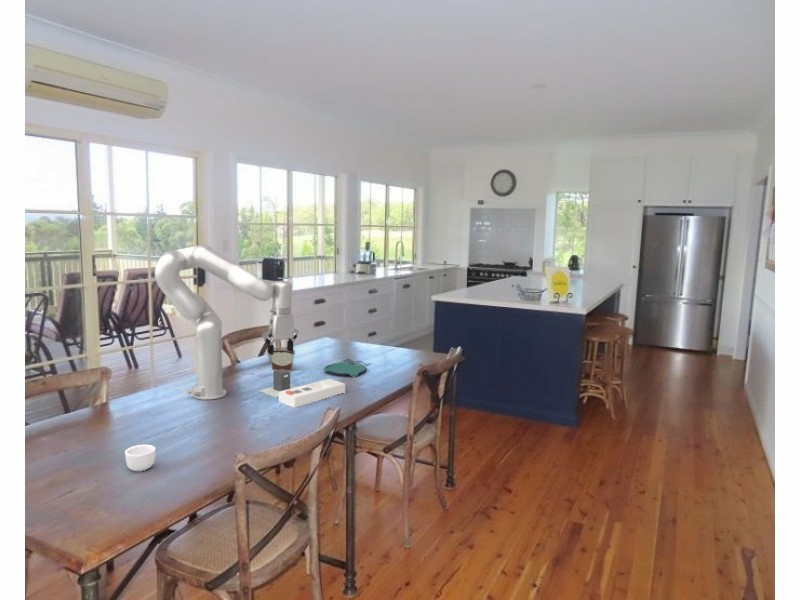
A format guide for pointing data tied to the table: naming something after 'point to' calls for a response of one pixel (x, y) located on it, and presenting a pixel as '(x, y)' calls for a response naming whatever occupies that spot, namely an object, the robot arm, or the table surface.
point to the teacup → (140, 457)
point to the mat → (273, 391)
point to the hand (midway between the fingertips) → (280, 352)
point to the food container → (282, 359)
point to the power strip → (311, 392)
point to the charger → (281, 380)
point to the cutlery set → (345, 368)
